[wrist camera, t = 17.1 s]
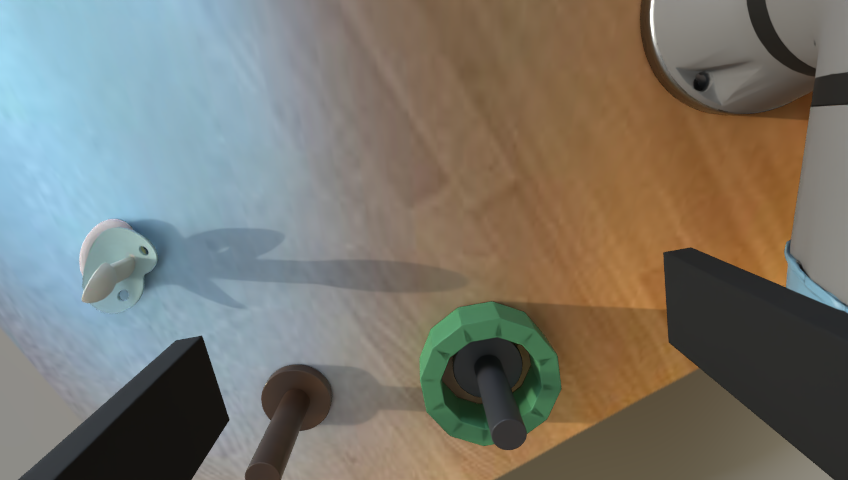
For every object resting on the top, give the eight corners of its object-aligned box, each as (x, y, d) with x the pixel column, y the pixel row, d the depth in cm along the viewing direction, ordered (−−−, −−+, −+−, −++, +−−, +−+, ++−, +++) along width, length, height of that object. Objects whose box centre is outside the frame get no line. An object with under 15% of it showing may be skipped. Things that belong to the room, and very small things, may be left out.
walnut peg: (323, 358, 40) (294, 432, 30) (339, 417, 41) (316, 506, 32) (257, 370, 40) (206, 448, 30) (274, 429, 41) (231, 520, 32)
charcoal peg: (515, 324, 40) (548, 388, 30) (523, 385, 41) (558, 464, 31) (447, 336, 40) (458, 403, 30) (458, 397, 41) (472, 479, 31)
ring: (539, 292, 39) (551, 308, 35) (554, 406, 42) (567, 431, 38) (410, 315, 39) (410, 333, 36) (433, 427, 42) (435, 454, 38)
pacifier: (73, 277, 38) (140, 311, 38) (5, 304, 32) (86, 344, 32) (106, 201, 36) (175, 238, 37) (41, 214, 30) (125, 258, 31)
